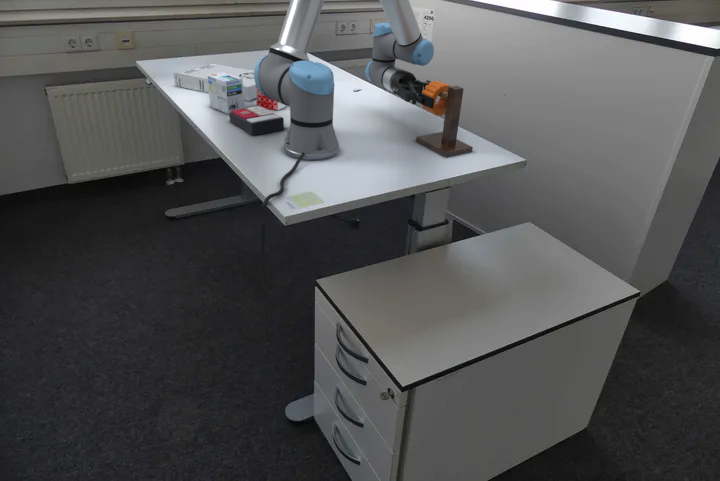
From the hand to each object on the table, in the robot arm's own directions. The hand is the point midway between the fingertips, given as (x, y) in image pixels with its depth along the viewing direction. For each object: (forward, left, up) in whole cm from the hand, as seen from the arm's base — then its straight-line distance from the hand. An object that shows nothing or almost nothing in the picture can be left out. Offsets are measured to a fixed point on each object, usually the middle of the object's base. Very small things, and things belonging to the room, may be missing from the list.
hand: (445, 101), depth 160 cm
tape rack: (0, -1, -13) cm, 13 cm away
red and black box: (-13, +55, -13) cm, 58 cm away
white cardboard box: (+17, +87, -13) cm, 89 cm away
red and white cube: (+7, +61, -13) cm, 63 cm away
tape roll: (+2, +3, -5) cm, 6 cm away
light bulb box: (-4, +72, -13) cm, 74 cm away
